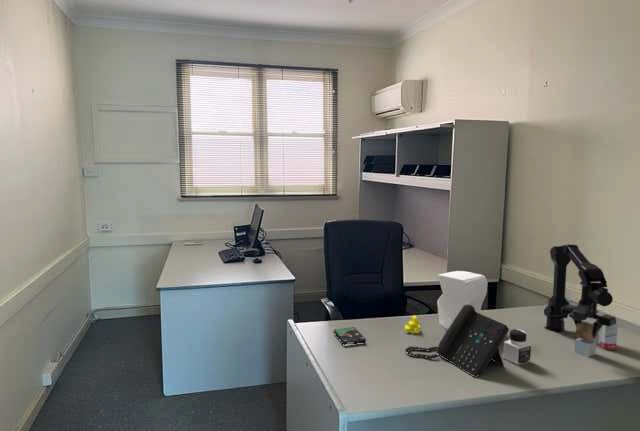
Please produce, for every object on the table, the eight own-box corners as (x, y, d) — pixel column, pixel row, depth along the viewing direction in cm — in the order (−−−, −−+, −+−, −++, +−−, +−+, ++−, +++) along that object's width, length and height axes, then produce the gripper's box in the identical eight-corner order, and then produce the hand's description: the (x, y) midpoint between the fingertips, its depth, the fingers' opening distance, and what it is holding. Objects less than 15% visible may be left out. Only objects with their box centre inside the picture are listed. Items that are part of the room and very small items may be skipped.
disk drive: (366, 345, 185) (354, 332, 199) (366, 339, 185) (354, 326, 199) (343, 348, 182) (332, 334, 197) (343, 341, 182) (333, 328, 196)
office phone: (401, 351, 178) (402, 304, 176) (454, 340, 190) (456, 296, 188) (449, 384, 152) (452, 329, 150) (508, 369, 164) (511, 318, 161)
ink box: (616, 350, 180) (618, 323, 179) (603, 349, 181) (605, 322, 180) (607, 342, 188) (609, 316, 187) (594, 341, 189) (597, 315, 188)
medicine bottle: (518, 365, 166) (520, 335, 165) (502, 358, 172) (504, 329, 171) (530, 361, 169) (532, 332, 168) (514, 354, 176) (516, 326, 174)
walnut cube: (575, 336, 178) (576, 323, 177) (582, 333, 181) (583, 321, 180) (589, 341, 173) (590, 328, 172) (596, 338, 176) (597, 325, 175)
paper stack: (427, 324, 208) (429, 272, 205) (468, 315, 221) (470, 266, 218) (461, 340, 190) (463, 283, 187) (502, 329, 202) (505, 276, 199)
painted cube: (574, 352, 178) (575, 339, 178) (581, 349, 181) (582, 336, 181) (588, 357, 174) (589, 344, 173) (595, 354, 177) (596, 341, 176)
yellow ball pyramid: (401, 330, 200) (401, 314, 199) (415, 328, 204) (415, 312, 203) (409, 335, 195) (409, 318, 194) (423, 332, 198) (423, 316, 198)
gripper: (555, 295, 178) (552, 331, 180) (604, 308, 163) (601, 347, 165) (569, 291, 184) (567, 326, 186) (618, 303, 169) (615, 341, 171)
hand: (586, 335), depth 177 cm, fingers closed on walnut cube, 5 cm apart
